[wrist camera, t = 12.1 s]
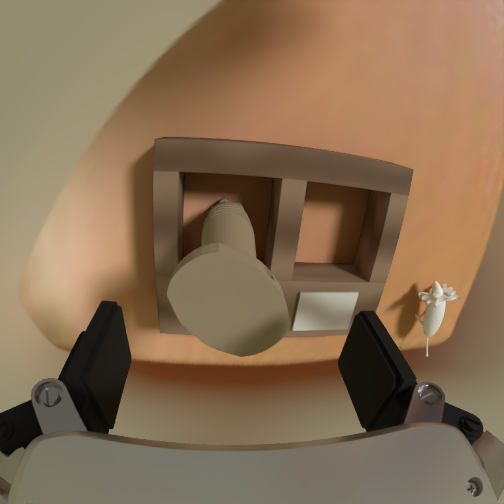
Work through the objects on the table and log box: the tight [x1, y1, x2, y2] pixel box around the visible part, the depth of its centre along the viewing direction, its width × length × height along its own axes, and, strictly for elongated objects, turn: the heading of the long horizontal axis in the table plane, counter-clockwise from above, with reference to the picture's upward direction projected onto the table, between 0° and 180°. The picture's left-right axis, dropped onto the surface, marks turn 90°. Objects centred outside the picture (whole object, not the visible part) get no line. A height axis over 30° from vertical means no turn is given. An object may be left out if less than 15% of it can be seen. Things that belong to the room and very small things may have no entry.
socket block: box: [153, 137, 413, 337], centre depth 27 cm, size 18×22×4 cm
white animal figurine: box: [415, 281, 459, 357], centre depth 33 cm, size 12×5×5 cm, turn 8°
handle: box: [167, 198, 291, 357], centre depth 21 cm, size 5×6×15 cm
